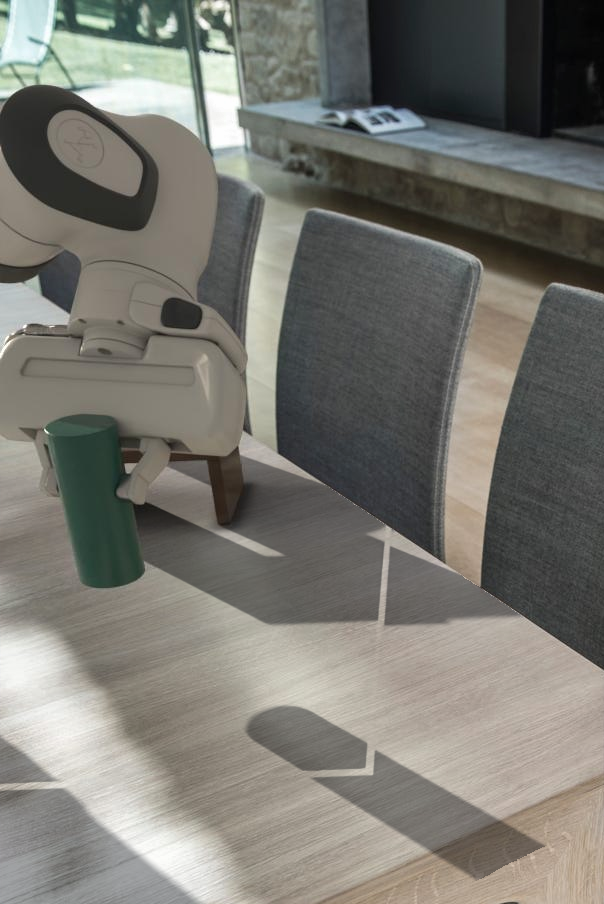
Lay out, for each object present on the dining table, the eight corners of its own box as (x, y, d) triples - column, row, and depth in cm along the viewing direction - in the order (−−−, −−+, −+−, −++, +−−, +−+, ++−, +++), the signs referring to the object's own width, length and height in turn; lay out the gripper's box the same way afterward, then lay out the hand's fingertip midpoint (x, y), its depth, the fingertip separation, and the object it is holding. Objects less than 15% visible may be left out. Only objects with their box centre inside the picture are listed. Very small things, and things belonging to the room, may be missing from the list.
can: (72, 590, 88) (35, 437, 81) (88, 561, 92) (54, 414, 85) (137, 587, 88) (106, 435, 81) (151, 559, 92) (122, 411, 85)
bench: (83, 529, 110) (58, 421, 104) (108, 489, 118) (85, 387, 113) (229, 524, 110) (212, 415, 104) (244, 484, 119) (229, 382, 113)
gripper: (-13, 300, 87) (-57, 470, 85) (236, 311, 83) (197, 491, 80) (33, 344, 93) (-7, 503, 91) (268, 356, 89) (232, 524, 86)
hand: (91, 497), depth 86 cm, fingers closed on can, 5 cm apart
